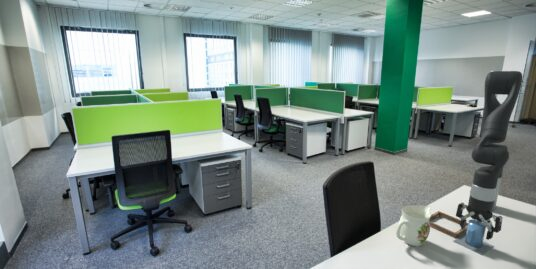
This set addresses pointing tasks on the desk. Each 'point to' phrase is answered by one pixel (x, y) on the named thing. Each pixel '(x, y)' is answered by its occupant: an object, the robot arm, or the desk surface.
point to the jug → (475, 233)
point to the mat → (480, 250)
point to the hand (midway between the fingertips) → (475, 233)
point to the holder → (444, 230)
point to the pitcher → (414, 225)
